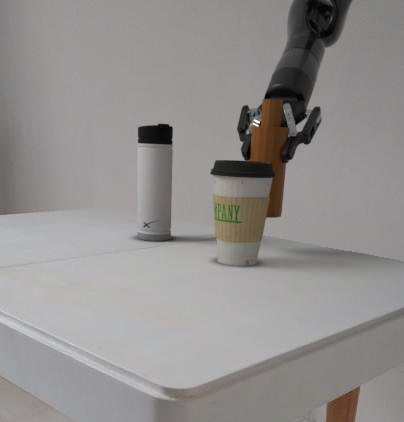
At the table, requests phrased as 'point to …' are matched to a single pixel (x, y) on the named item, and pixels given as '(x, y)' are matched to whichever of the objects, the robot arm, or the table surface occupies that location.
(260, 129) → the amber bottle
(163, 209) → the travel mug
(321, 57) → the robot arm
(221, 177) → the coffee cup
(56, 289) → the table surface
